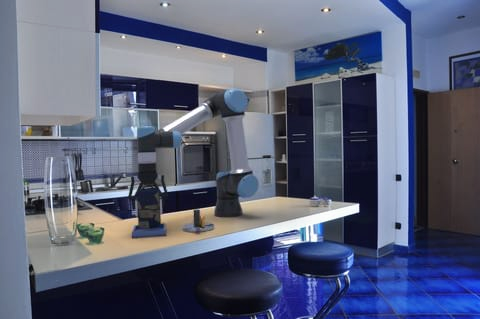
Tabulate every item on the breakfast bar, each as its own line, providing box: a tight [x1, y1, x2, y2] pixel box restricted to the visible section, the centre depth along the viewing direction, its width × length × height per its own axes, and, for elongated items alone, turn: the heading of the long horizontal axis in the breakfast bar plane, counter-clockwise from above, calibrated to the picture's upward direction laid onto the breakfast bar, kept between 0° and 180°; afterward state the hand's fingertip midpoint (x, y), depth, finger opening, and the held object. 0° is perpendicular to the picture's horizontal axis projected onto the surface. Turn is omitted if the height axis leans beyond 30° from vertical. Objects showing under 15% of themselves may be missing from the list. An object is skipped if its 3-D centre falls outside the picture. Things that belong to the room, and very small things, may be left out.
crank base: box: [181, 215, 215, 233], centre depth 165 cm, size 14×14×6 cm
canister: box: [136, 185, 162, 229], centre depth 159 cm, size 10×10×18 cm
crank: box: [193, 209, 201, 229], centre depth 161 cm, size 12×4×8 cm, turn 4°
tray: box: [131, 222, 167, 239], centre depth 159 cm, size 14×15×2 cm
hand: (149, 214), depth 159 cm, fingers closed on canister, 9 cm apart
